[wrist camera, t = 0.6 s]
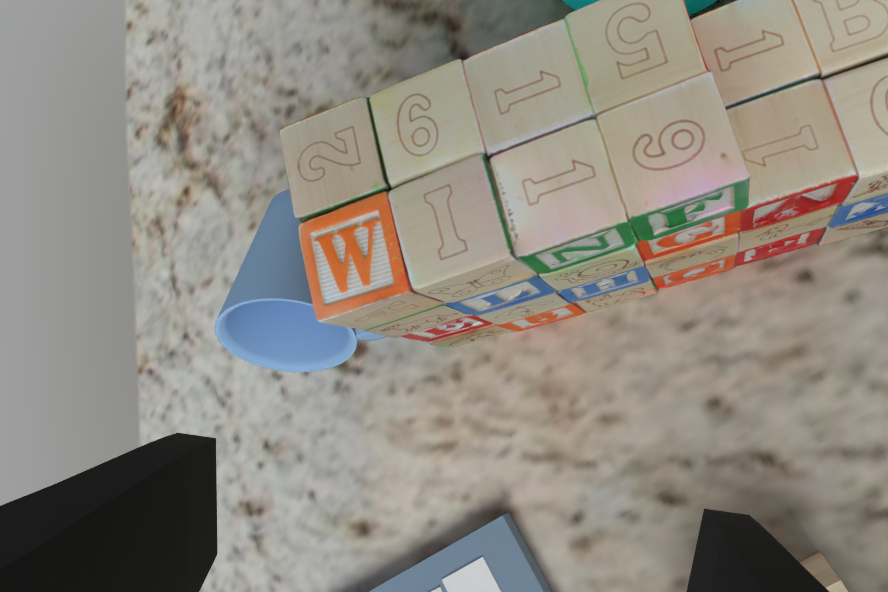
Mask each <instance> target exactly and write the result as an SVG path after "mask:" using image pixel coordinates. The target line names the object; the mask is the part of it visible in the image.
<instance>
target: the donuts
mask: <svg viewBox="0 0 888 592" xmlns="http://www.w3.org/2000/svg"><path fill="white" fill-rule="evenodd" d="M562 1H563V2H564V3H565V4H567V5H568V6H569V7H571V8H572V9H573V10H575V11H576V10H578V9H581V8H583V7H585V6H588V5H590V4H592V3H595V2H597V1H600V0H562ZM716 1H717V0H684V2H685V5H686V8H687V11H688V14H689V16H690V15H692V14H694V13H696V12H698V11H700V10H702V9H704V8H706V7H708V6H709V5H711V4H713V3H714V2H716Z"/></svg>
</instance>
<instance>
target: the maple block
mask: <svg viewBox="0 0 888 592" xmlns="http://www.w3.org/2000/svg"><path fill="white" fill-rule="evenodd" d="M799 563H800V564H801V565H802V566H803V567H804V568H805V569H806V570H808V571H809V572H810V573H811V574H812V575H813V576H814V577H815V578H816V579H817V580H818V581H819V582H820V583H821V584H822V585H823V586H824V587H825V588H826V589H827V590H828V591H829V592H848V590H847V589H846V587H845V586H844V584H843V583H842V581H841V580H840V578H839V577H838V576H837V574H836V573H835V572H834V570H833V569H832V568H831V566H830V565H829V564H828V562H827V561H826V560H825V558H824V557H823V555H822V554H821V553H820V552H819V553H817V554H815V555H813V556H811V557H809V558H807V559H805V560H803V561H801V562H799Z"/></svg>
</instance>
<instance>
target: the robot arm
mask: <svg viewBox="0 0 888 592" xmlns="http://www.w3.org/2000/svg"><path fill="white" fill-rule="evenodd" d="M216 556H217V491H216V438H210V437H203V436H196V435H189V434H182V433H176V434H173V435H170V436H167V437H164V438H161V439H158V440H156V441H153V442H151V443H148V444H146V445H144V446H141V447H139V448H137V449H134V450H132V451H130V452H127V453H125V454H123V455H121V456H118V457H116V458H114V459H111V460H109V461H107V462H105V463H102V464H100V465H98V466H96V467H93V468H91V469H89V470H86V471H84V472H82V473H79V474H77V475H75V476H73V477H70V478H68V479H66V480H63V481H61V482H59V483H57V484H54V485H52V486H49V487H47V488H44V489H42V490H39V491H37V492H34V493H32V494H29V495H27V496H24V497H21V498H19V499H17V500H14V501H11V502H9V503H6V504H4V505H2V506H0V592H199V591H200V589H201V587H202V585H203V583H204V581H205V578H206V576H207V574H208V572H209V570H210V568H211V566H212V564H213V562H214V560H215V558H216ZM687 592H829V591H828V590H827V589H826V588H825V587H824V586H823V585H822V584H821V583H820V582H819V581H818V580H817V579H816V578H815V577H814V576H813V575H812V574H811V573H810V572H809V571H808V570H806V569H805V568H804V567H803V566H802V565H801V564H800V563H799V562H798V561H797V560H796V559H795V558H794V557H793V556H792V555H791V554H790V553H789V552H788V551H787V550H786V549H785V548H784V547H783V546H782V545H781V544H780V543H779V542H778V541H777V540H776V539H775V538H774V537H773V536H772V535H771V534H769V533H768V532H767V531H766V530H765V529H764V528H763V527H762V526H761V525H760V524H759V523H758V522H756V521H755V520H754V519H753V518H752V517H751V516H749V515H744V514H737V513H730V512H723V511H716V510H709V509H704V513H703V517H702V522H701V527H700V532H699V536H698V541H697V546H696V551H695V555H694V560H693V565H692V570H691V574H690V579H689V584H688V589H687Z"/></svg>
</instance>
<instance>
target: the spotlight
mask: <svg viewBox="0 0 888 592" xmlns="http://www.w3.org/2000/svg"><path fill="white" fill-rule="evenodd" d="M300 223H301V221H300V220H298V219H297V218H295V215H294V211H293V205H292V199H291V193H290V190H286V191H284V192H281V193H279V194H278V195H276V196H275V197H274V198H273V199H272V201H271V203H270V205H269V207H268V209H267V211H266V214H265V216H264V218H263V220H262V222H261V225H260V227H259V229H258V231H257V233H256V235H255V238H254V240H253V242H252V244H251V246H250V249H249V251H248V253H247V255H246V257H245V259H244V262H243V264H242V266H241V268H240V270H239V273H238V275H237V277H236V279H235V281H234V283H233V286H232V288H231V290H230V292H229V294H228V297H227V299H226V301H225V303H224V305H223V307H222V310H221V312H220V314H219V316H218V318H217V321H216V323H215V333H216V336H217V338H218V340H219V341H220V343H221V344H222V345H223V346H224V347H225V348H226V349H227V350H228V351H230V352H231V353H232V354H234V355H235V356H237V357H239V358H241V359H243V360H245V361H247V362H249V363H252V364H254V365H258V366H261V367H264V368H268V369H273V370H279V371H287V372H312V371H319V370H324V369H328V368H332V367H334V366H337V365H339V364H341V363H343V362H345V361H346V360H347V359H349V358H350V357H351V356H352V354H353V353H354V351H355V349H356V346H357V339H358V340H366V341H369V340H377V339H381V338H383V337H386V336H384V335H380V334H374V333H371V332H365V331H362V330H361V329H356V328H349V327H342V326H337V325H331V324H324V323H321V322H318V321H317V318H316V315H315V312H314V307H313V303H312V298H311V293H310V288H309V283H308V279H307V274H306V269H305V264H304V259H303V254H302V249H301V244H300V239H299V224H300Z"/></svg>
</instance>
